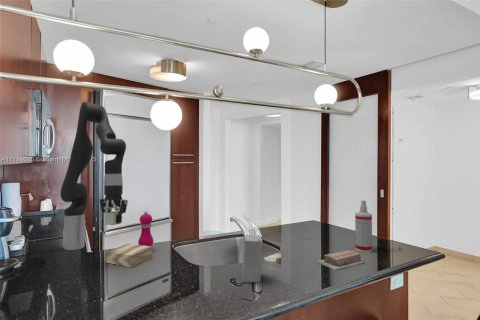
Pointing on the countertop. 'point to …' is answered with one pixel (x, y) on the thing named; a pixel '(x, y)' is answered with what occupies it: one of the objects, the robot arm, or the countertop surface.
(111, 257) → the pedestal
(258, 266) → the skincare box
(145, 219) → the pepper mill
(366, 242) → the spray bottle
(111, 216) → the cube
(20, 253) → the countertop surface
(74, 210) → the robot arm
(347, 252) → the soap bar on dish
